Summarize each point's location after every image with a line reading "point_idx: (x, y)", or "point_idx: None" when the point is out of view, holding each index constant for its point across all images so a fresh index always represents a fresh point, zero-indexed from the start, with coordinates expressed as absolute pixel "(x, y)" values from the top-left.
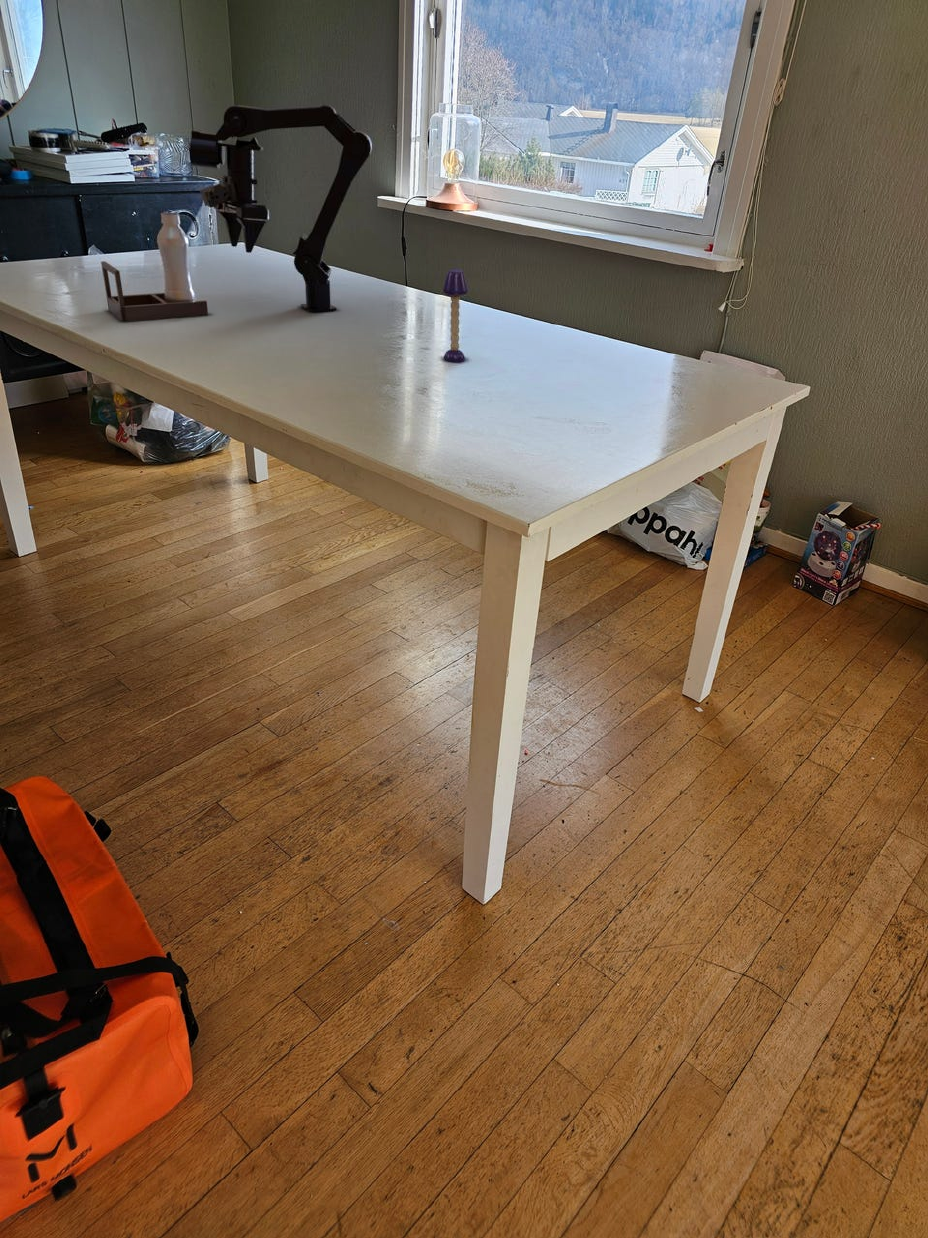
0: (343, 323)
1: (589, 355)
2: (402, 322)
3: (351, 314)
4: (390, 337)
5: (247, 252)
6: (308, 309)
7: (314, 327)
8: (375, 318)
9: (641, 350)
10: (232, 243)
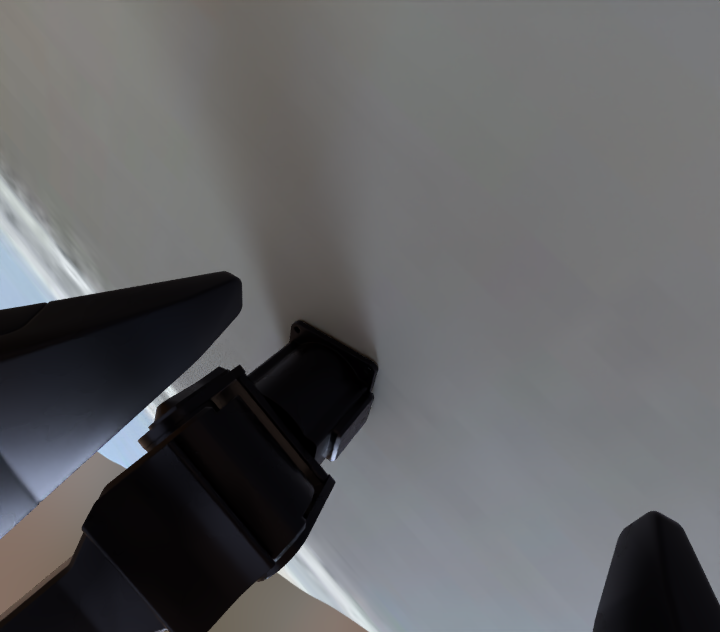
0: (177, 272)
1: None
2: None
3: (244, 367)
4: (71, 241)
5: (232, 275)
6: (315, 331)
7: (159, 173)
8: (198, 364)
9: None
10: (651, 539)
